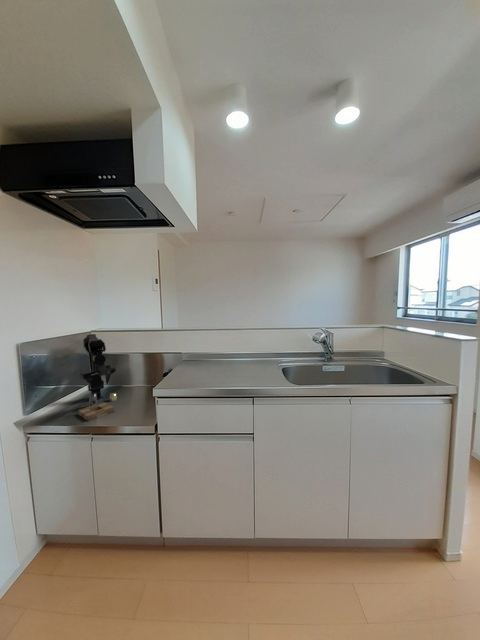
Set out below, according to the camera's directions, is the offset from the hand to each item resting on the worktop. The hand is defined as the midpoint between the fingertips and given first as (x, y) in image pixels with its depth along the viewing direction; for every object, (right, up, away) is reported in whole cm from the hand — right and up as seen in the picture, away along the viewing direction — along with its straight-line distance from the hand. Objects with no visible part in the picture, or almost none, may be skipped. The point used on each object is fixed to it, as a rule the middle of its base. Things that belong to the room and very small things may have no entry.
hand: (99, 386), depth 157 cm
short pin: (+3, -12, +12) cm, 17 cm away
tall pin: (-5, -13, +2) cm, 14 cm away
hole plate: (+2, -14, -7) cm, 16 cm away
